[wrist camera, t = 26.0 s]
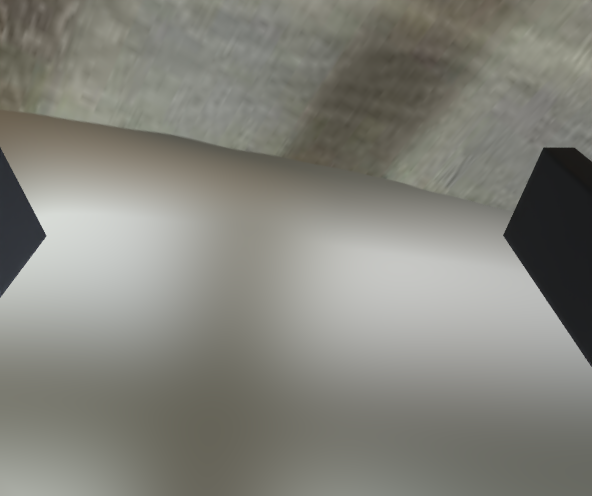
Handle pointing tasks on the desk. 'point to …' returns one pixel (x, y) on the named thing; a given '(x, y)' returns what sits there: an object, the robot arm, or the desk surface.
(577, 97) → the desk surface
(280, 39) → the desk surface
